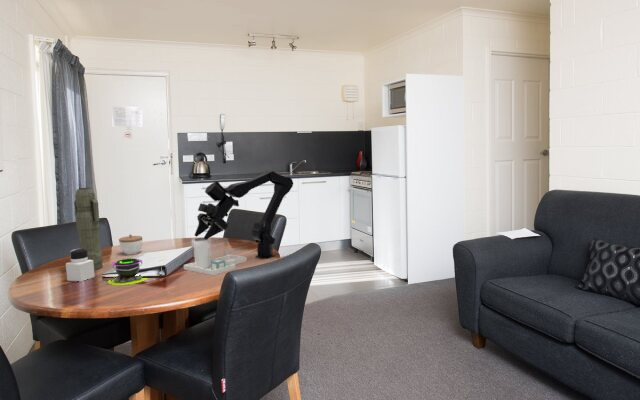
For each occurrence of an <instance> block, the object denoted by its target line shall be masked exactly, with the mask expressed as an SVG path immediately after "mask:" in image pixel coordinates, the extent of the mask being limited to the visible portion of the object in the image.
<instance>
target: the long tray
mask: <svg viewBox="0 0 640 400" xmlns="http://www.w3.org/2000/svg"><path fill="white" fill-rule="evenodd" d="M211 261H214V260H213V259H211ZM236 265H237V264H233V263H227V262H225V267H222V268H219V269H215V270H211V266H210V267H209V268H206V269H204V268H199V267H195V261H194V262H190V263H186V264H183V270H185V271H190V272H195V273H200V274H205V275H209V276H216V275H219V274H222V273H225V272H229V271H232V270H235V269H236Z"/></svg>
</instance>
